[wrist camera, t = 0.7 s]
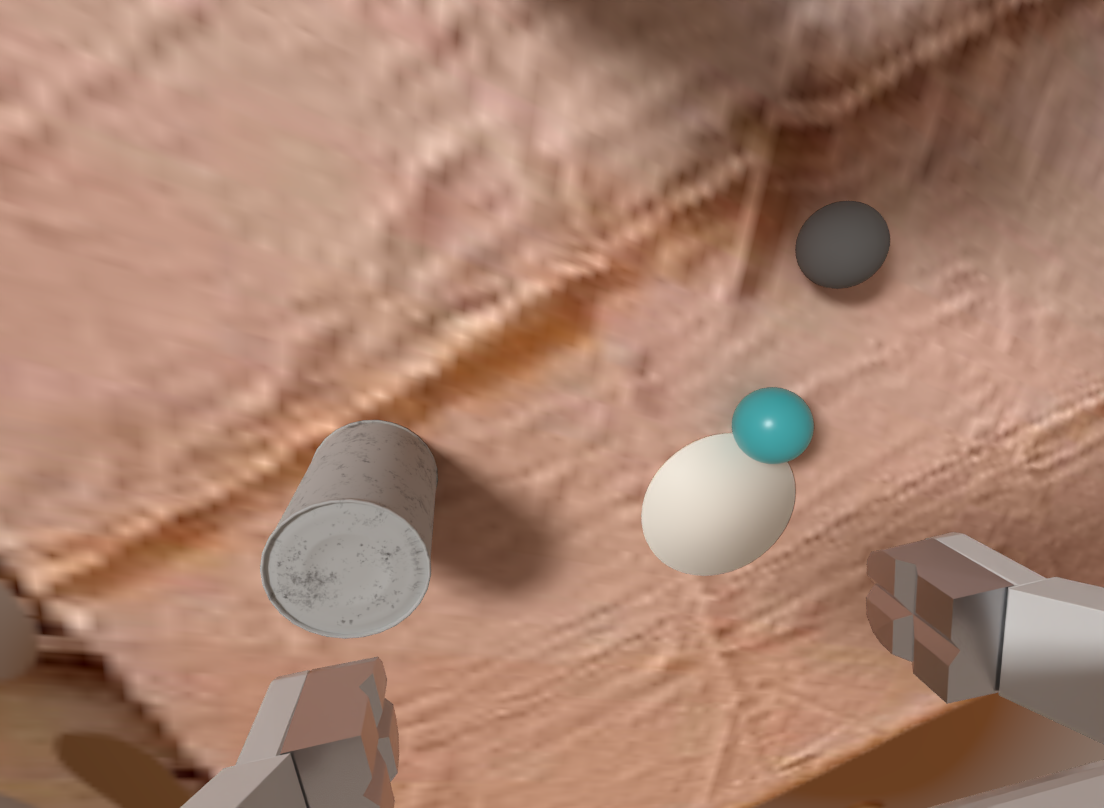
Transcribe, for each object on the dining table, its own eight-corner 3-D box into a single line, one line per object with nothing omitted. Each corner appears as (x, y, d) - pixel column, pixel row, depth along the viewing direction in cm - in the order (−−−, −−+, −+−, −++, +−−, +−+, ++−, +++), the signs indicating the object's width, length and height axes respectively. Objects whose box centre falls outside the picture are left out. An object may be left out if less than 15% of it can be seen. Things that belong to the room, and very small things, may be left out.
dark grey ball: (797, 190, 43) (847, 191, 37) (866, 211, 44) (925, 214, 39) (768, 272, 45) (812, 284, 39) (835, 289, 46) (887, 303, 40)
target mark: (669, 419, 48) (670, 420, 48) (817, 447, 51) (819, 448, 51) (622, 564, 52) (622, 565, 52) (761, 582, 55) (762, 583, 55)
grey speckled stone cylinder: (328, 403, 43) (281, 480, 32) (453, 439, 46) (452, 523, 34) (297, 513, 46) (243, 621, 34) (417, 542, 48) (404, 651, 37)
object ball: (733, 371, 47) (770, 395, 42) (798, 385, 48) (842, 410, 43) (709, 438, 49) (742, 470, 43) (773, 450, 50) (812, 483, 45)
